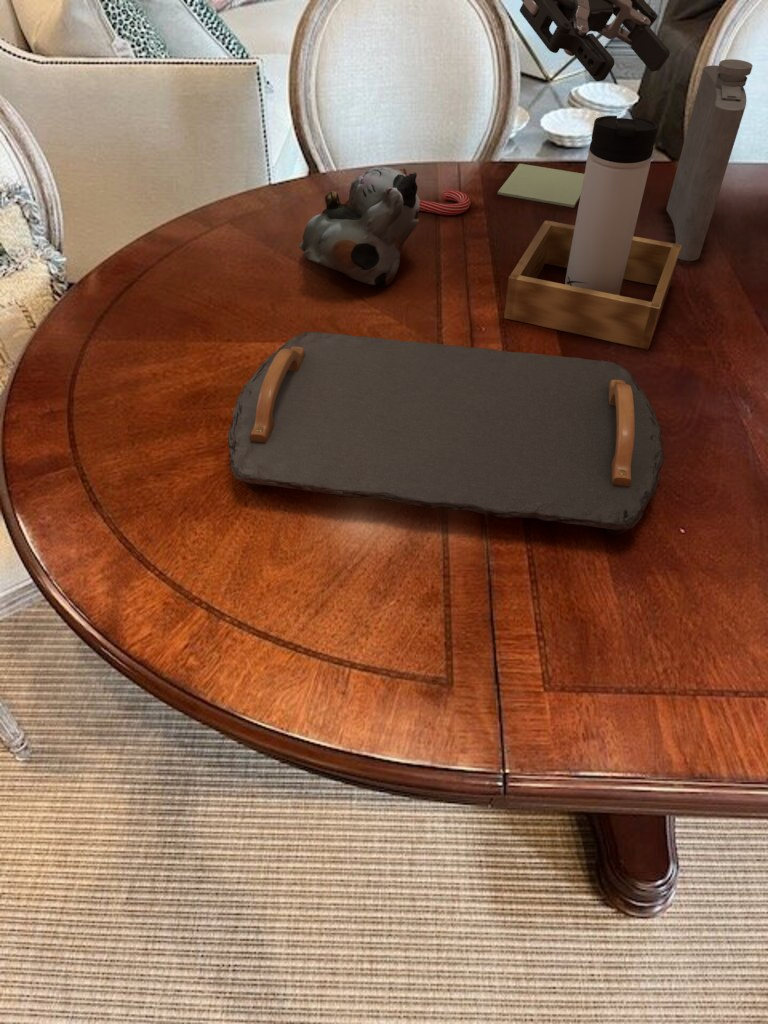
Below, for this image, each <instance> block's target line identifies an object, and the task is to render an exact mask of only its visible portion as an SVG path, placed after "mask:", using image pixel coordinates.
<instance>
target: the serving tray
mask: <svg viewBox="0 0 768 1024" xmlns="http://www.w3.org/2000/svg"><path fill="white" fill-rule="evenodd" d="M227 435H228V436H227V444H228V447H229V450H228V453H229V458H230V460H229V466H230V469H231V472H232V474H233V476H234V479H236V480H237V481H239V482H241V483H242V482H243V484H244V485H245V486H246V487H248V489H249V490H255V491H256V490H259V489H261V488H262V487H263V486H267V487H268V486H269V487H278V488H285V489H292V490H300V491H306V492H313V493H314V492H315V493H320V494H321V493H322V494H328V495H334V496H338V497H341V498H342V497H343V498H344V497H345V498H365V499H378V500H379V499H381V500H387V501H391V502H395V503H400V504H404V505H408V506H419V507H423V508H429V509H448V510H453V511H465V512H466V511H467V512H474V513H478V514H481V515H489V516H490V515H491V516H494V517H496V518H500V519H501V518H502V519H519V518H520V519H537V520H539V521H543V522H558V523H561V524H567V525H568V524H569V525H574V526H575V525H576V526H585V527H591V528H592V527H593V528H598V529H605V532H606V533H607V534H608V535H610V536H613V537H617V536H620V535H622V534H623V533H625V532H626V531H627V530H630V529H631V530H632V529H633V528H634V527H635V526H636V525H637V524H638V523H639V522H640V520H641V519H642V518H643V515H644V512H645V510H646V508H647V505H648V504H649V503H650V501H651V500H652V499H653V498H654V496H655V495H656V490H657V487H658V485H659V484H660V471H661V469H662V467H663V464H664V462H665V454H664V444H663V443H664V442H663V437H662V436H663V435H662V428H661V424H660V422H659V421H658V418H657V414H656V411H655V410H654V408H653V406H652V404H651V402H650V401H649V399H648V397H647V394H646V393H645V391H644V390H643V389H642V388H641V386H640V385H639V384H638V383H637V381H635V379H634V376H633V374H631V372H630V371H629V370H628V369H626V368H625V367H624V366H622V365H621V364H620V363H618V362H612V361H608V360H601V359H600V360H599V359H597V360H596V359H588V358H581V357H573V356H559V355H550V354H541V353H531V352H520V351H514V352H513V351H506V350H499V349H492V348H486V347H485V348H484V347H471V346H462V345H451V344H450V345H449V344H443V343H429V342H422V341H406V340H400V339H389V338H381V337H374V336H373V337H372V336H371V337H370V336H362V335H361V336H358V335H350V334H344V333H331V332H330V333H329V332H322V331H305V332H303V333H300V334H298V335H296V336H294V337H292V338H290V339H288V340H287V341H286V342H285V343H284V344H282V345H281V346H279V348H278V349H277V350H275V351H274V352H273V353H272V354H270V355H269V356H268V357H267V358H266V359H265V360H264V361H263V362H262V363H261V364H260V365H259V367H258V369H257V370H256V372H255V373H254V374H253V375H252V377H251V378H250V379H249V380H248V381H247V382H246V383H245V385H243V388H242V389H241V391H240V393H239V395H238V397H237V399H236V402H235V405H234V407H233V410H232V421H231V424H230V427H229V430H228V434H227Z"/></svg>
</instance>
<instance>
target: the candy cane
mask: <svg viewBox="0 0 768 1024" xmlns="http://www.w3.org/2000/svg"><path fill="white" fill-rule="evenodd" d="M441 195H442V198H443V200H445V201H451V202H456V203H449V204H448V203H441V202H435V201H431V200H424V199H420V203H419V204H420V209H419V211H420V212H426V213H431V214H432V213H433V214H437V215H440V216H441V215H442V216H456V215H460V214H463V213H464V212H466V211H468V209H469V208H470V206H471V200H470V197H469V196H468V195H467V194H466V193H464V192H462V191H459V190H454V189H445V190H443V192H442V194H441Z"/></svg>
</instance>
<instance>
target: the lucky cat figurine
mask: <svg viewBox="0 0 768 1024" xmlns="http://www.w3.org/2000/svg"><path fill="white" fill-rule="evenodd" d="M417 177H418V174H417V172H412V173H409V174H408V173H407V169H406V168H405V167H403V168H400V169H395V168H393V167H388V166H383V167H378V166H374V167H371V168H370V169H369V170H367V171H366V172H365V173H363V174H360V175H359V176H357V177H355V179H354V180H353V181H352V182H351V184H350V188H349V194H348V200H346V201H345V203H344V204H343V203H342V202H341V200H340V196H339V194H338V193H337V192H336V191H333V190H329V192H328V193H327V194H325V196H324V201H325V209H323V210H322V212H321V213H320V214H316V215H314V216H312V218H311V219H310V220H309V221H308V222H307V224H306V225H305V228H304V232H303V235H302V242H300V243H299V246H298V248H299V249H300V250H302V252H303V254H302V256H303V257H305V258H306V259H307V260H308V261H311V262H313V263H315V264H317V265H319V266H323V267H325V268H328V269H331V270H334V271H337V272H340V273H342V274H344V275H346V276H347V277H349V278H351V279H353V280H355V281H357V282H359V283H363V284H367V285H372V286H376V285H379V286H380V287H381V288H382V287H388V286H389V285H390V284H391V283H392V282H394V279H395V277H396V275H397V272H398V270H399V268H400V263H401V253H402V248H403V246H404V244H405V242H406V241H407V240H408V238H409V237H410V235H411V234H412V233H413V232H414V230H415V229H416V228H417V227H418V224H419V220H420V219H419V218H418V214H419V209H420V204H419V203H420V200H421V199H420V198H419V195H418V193H417V192H418V188H419V187H418V184H417V181H416V180H417Z"/></svg>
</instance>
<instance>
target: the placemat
mask: <svg viewBox="0 0 768 1024" xmlns="http://www.w3.org/2000/svg"><path fill="white" fill-rule="evenodd" d="M583 179H584V173H580V172H575V171H570V170H563V169H558V168H557V169H556V168H550V167H544V166H538V165H532V164H525V163H519V164H517V166H516V167H515V168H514V170H513V171H512V172H511V174H510V175H509V176H508V178H507V179H506V180H505V182H504V183H503V184H502V186H501V187H500V188H499V189H498V191H497V194H496V195H497V196H504V197H510V198H516V199H520V200H521V199H522V200H525V201H526V200H527V201H533V202H538V203H545V204H549V205H556V206H561V207H568V208H575V207H576V205H577V203H578V202H579V201H580V196H581V190H582V185H583Z"/></svg>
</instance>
